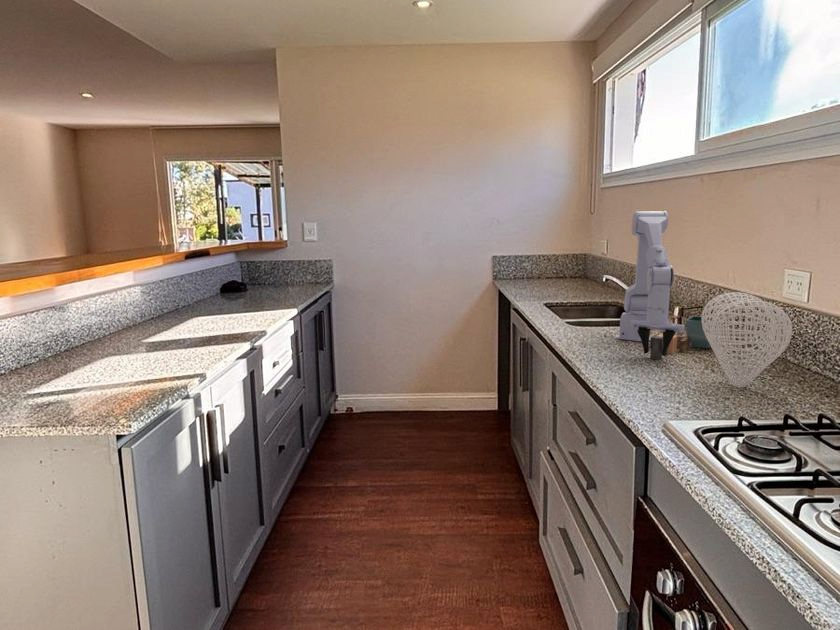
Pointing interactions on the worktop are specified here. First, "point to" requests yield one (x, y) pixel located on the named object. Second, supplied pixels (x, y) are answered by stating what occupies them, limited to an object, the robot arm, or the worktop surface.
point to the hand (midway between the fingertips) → (655, 353)
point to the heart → (769, 334)
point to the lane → (680, 342)
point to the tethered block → (658, 346)
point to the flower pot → (697, 332)
